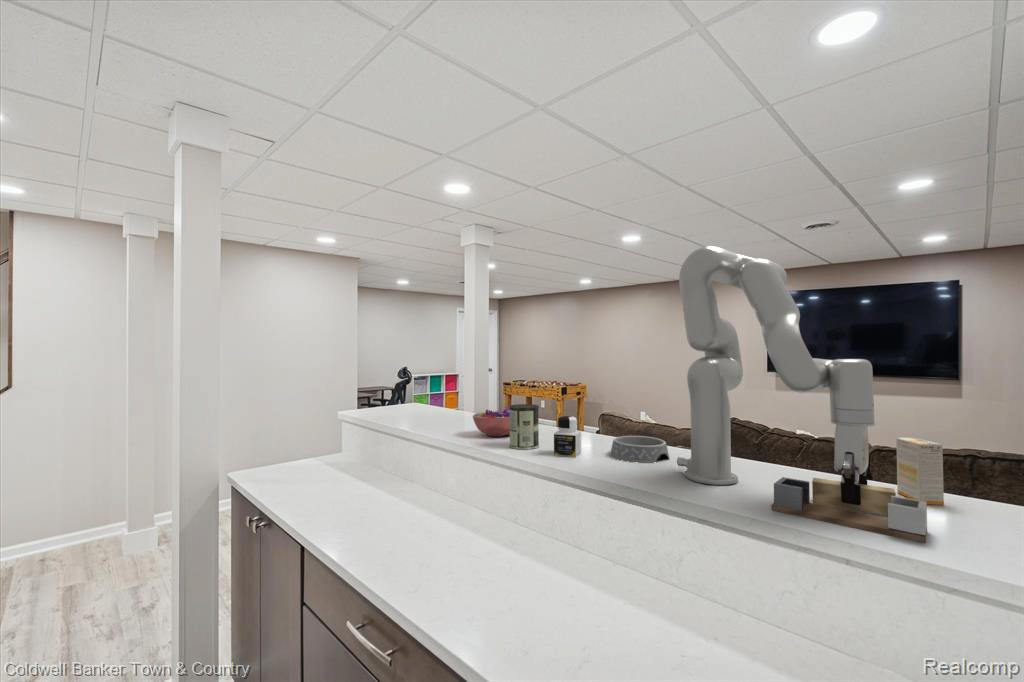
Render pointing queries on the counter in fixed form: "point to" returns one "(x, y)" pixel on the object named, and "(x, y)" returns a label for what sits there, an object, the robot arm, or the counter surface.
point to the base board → (851, 520)
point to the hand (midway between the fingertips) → (854, 498)
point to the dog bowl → (638, 449)
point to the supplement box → (920, 470)
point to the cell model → (493, 422)
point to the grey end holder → (791, 493)
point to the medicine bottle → (567, 437)
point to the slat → (871, 502)
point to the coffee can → (524, 426)
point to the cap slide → (907, 515)
